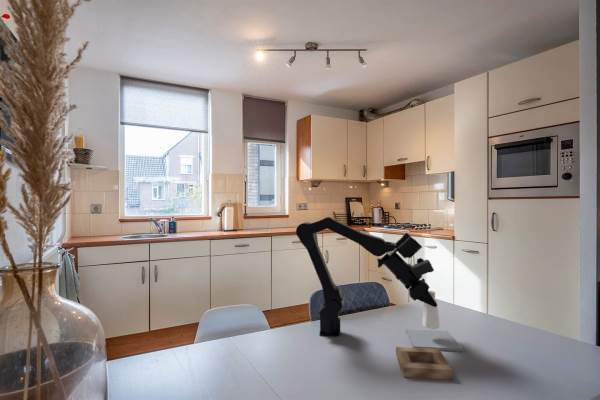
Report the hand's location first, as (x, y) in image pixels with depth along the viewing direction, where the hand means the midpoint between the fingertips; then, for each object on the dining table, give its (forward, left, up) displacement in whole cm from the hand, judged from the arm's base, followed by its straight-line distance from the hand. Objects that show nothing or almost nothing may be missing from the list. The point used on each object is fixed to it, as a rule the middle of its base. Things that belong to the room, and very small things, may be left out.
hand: (435, 304), depth 105 cm
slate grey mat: (-1, 0, -12) cm, 12 cm away
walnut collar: (-8, -18, -12) cm, 23 cm away
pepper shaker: (-1, 0, -7) cm, 7 cm away
